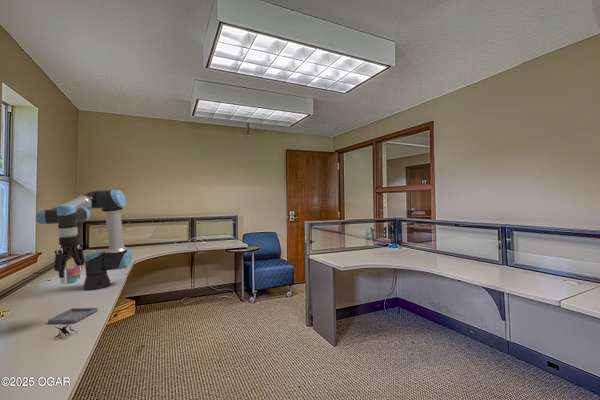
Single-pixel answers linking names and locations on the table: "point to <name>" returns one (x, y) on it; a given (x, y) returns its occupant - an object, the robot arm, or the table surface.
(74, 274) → the cupcake
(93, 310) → the tray
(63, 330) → the creature
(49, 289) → the table surface
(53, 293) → the table surface
